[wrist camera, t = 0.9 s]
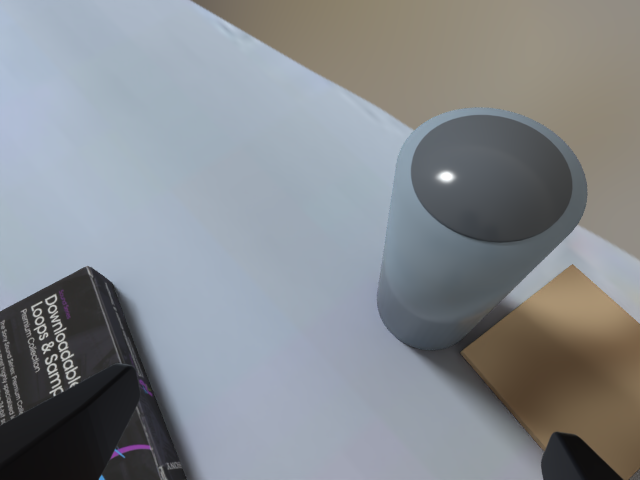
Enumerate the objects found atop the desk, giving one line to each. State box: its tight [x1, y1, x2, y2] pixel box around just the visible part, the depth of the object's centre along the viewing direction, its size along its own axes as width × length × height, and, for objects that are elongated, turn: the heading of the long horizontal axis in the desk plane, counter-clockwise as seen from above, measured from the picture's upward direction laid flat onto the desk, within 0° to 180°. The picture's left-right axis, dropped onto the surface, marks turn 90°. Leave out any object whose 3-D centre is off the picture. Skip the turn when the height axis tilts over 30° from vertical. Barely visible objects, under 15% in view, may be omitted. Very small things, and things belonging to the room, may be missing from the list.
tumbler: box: [377, 108, 587, 350], centre depth 19 cm, size 6×6×13 cm
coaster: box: [460, 264, 640, 480], centre depth 22 cm, size 9×9×1 cm
